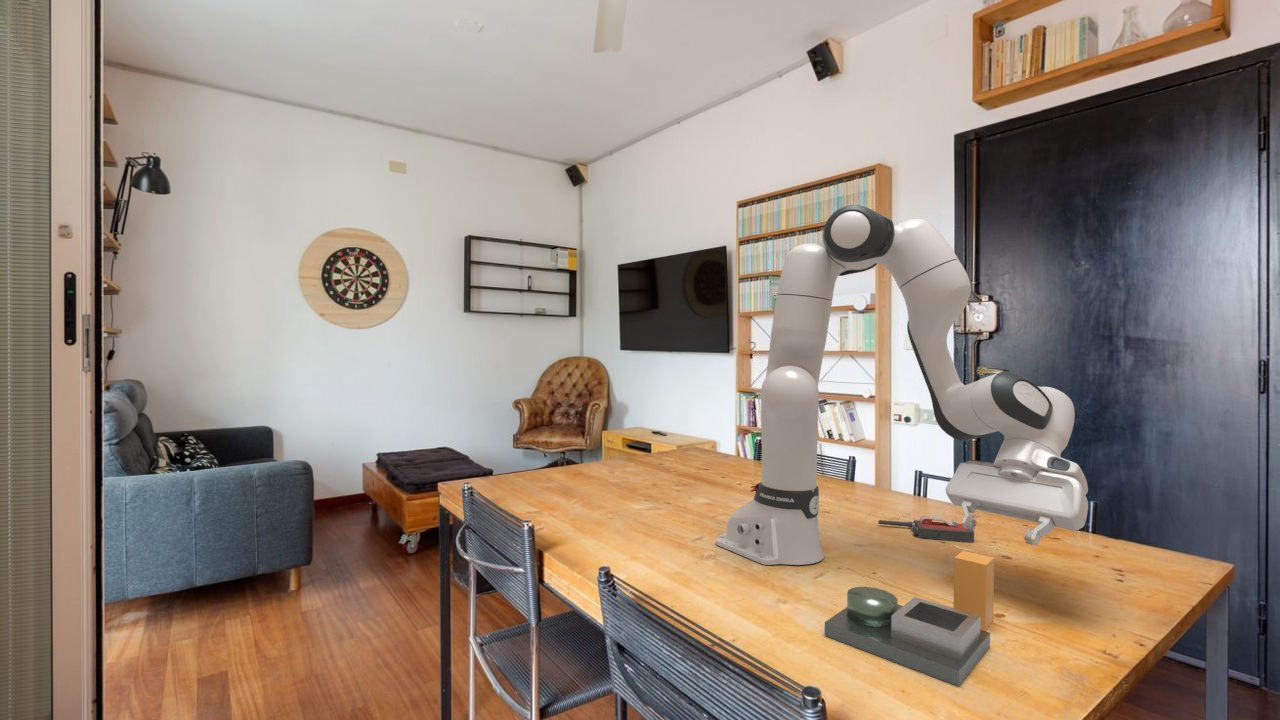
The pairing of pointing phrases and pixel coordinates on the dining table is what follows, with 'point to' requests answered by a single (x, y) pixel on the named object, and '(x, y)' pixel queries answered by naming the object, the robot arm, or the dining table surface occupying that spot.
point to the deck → (911, 633)
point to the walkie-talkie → (936, 529)
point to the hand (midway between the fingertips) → (997, 534)
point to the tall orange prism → (974, 586)
